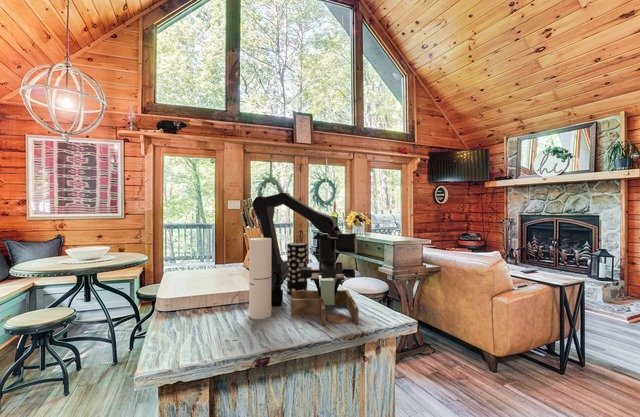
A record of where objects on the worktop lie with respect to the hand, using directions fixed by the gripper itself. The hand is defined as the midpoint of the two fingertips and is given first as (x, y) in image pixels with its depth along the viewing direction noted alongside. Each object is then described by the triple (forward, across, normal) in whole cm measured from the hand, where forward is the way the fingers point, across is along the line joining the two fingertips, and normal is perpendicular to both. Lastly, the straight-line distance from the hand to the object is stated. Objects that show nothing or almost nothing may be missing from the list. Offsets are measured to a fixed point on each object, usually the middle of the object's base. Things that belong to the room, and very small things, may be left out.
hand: (327, 297), depth 109 cm
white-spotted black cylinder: (+4, -10, +21) cm, 24 cm away
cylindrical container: (+4, -22, -5) cm, 23 cm away
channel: (+4, -2, -4) cm, 6 cm away
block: (+2, 0, 0) cm, 2 cm away
